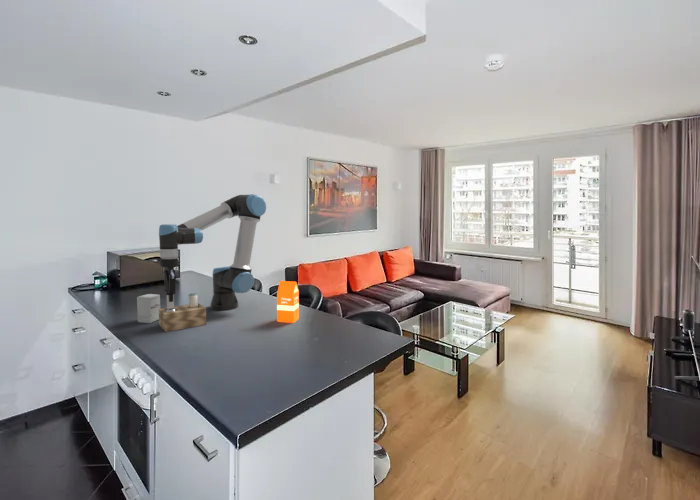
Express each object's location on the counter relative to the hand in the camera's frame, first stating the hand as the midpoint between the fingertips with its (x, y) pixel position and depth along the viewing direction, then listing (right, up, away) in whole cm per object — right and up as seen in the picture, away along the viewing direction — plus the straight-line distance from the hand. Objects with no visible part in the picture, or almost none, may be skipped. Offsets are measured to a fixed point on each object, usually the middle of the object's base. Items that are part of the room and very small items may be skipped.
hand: (170, 308), depth 170 cm
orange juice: (+52, -9, +14) cm, 55 cm away
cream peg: (+8, -2, +7) cm, 11 cm away
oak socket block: (+4, -9, +4) cm, 10 cm away
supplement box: (-16, -8, +10) cm, 20 cm away
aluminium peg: (0, -9, +1) cm, 9 cm away
